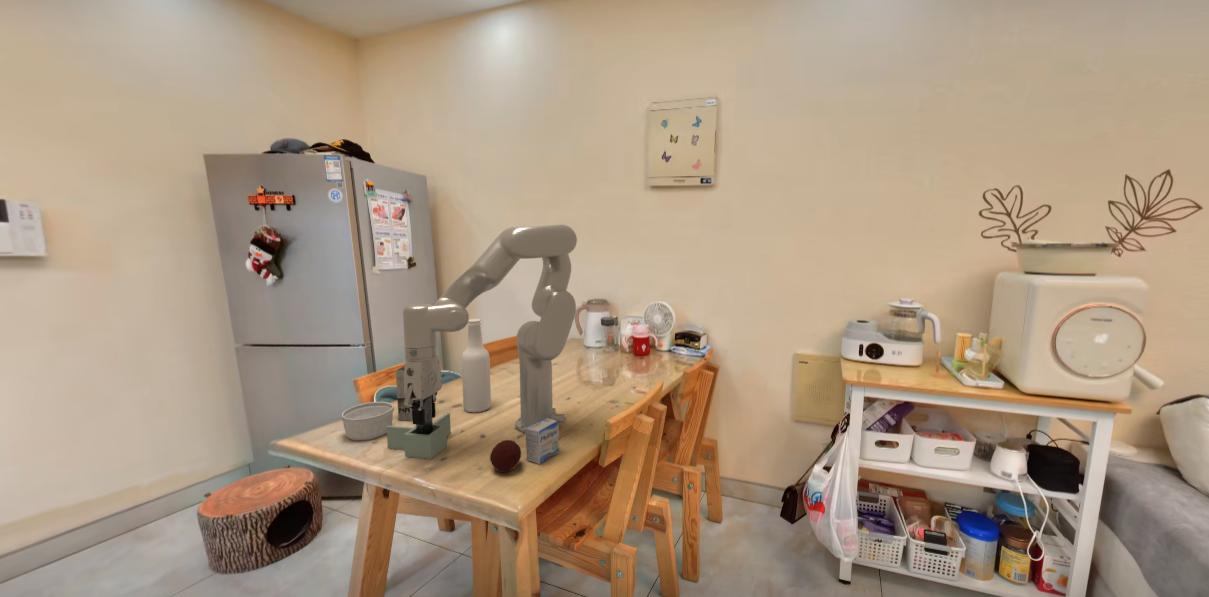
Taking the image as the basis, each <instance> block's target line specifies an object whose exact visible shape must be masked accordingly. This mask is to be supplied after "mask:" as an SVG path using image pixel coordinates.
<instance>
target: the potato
mask: <svg viewBox="0 0 1209 597" xmlns="http://www.w3.org/2000/svg"><path fill="white" fill-rule="evenodd" d="M521 457H522V450H521V447H520V445H519V444H518V443H517V442H516V441H514V440H512V439H506V440H502V441H500V442H498V443H496V445H495V446H494V447H493V448H492V449H491V452H490V455H489V460H490V463H491V465H492V466H493V468H495V469H496V470H497V471H498V472H501V473H506V472H509V471H511V470H513V469H514V468H515V467H516V466H517V465H518V464H519V461H520V460H521Z"/></svg>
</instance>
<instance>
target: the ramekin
mask: <svg viewBox="0 0 1209 597" xmlns="http://www.w3.org/2000/svg"><path fill="white" fill-rule="evenodd" d="M394 410H395V409H394V404H393V403H391V402H387V401H371V402H365V403H360V404H357V405H353V406H351V407H349V408H347V409H345V410H343V412H342V413H341V418H340V419H341V421H342V422H343V423H342V424H343V428H344V432H345V435H346V437H347V438H349V439H350V440H353V441H358V440H361V441H368V440H369V441H370V440H373V439H377V438H380V437H382V436H384V435H387V428H386V427H387V426H388V425H389V426H393V416H394Z"/></svg>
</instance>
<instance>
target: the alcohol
mask: <svg viewBox="0 0 1209 597" xmlns="http://www.w3.org/2000/svg"><path fill="white" fill-rule="evenodd" d="M481 321H482V320H481V319H480V318H469V321H468V323H467V326H468V327H467V328H468V329H467V331H468V332H467V346H466V348H465V350H464V351H463V353H462V355H461V374H462V375H461V377H462V382H461V383H462V398H463V400H462V402H463V403H462V404H463V409H464V410H465V412H467V413H470V412H473V414H477V413H476V412H479V413H483V412H485V410H486V411H488V410H489V409H490V407H491V406H492V393H491V388H492V387H491V365H490V364H491V363H490V362H491V361H490V353H489V351H488V350H487V349H486V348H485V347H484V344H483V337H482V335H483V334H482V330H481V329H482V327H481V324H482V323H481ZM487 409H488V410H487ZM482 411H483V412H482Z"/></svg>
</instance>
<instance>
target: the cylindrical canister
mask: <svg viewBox="0 0 1209 597" xmlns="http://www.w3.org/2000/svg"><path fill="white" fill-rule="evenodd" d="M415 397H416V396H415ZM415 402H416V403H417V404H418V400H415ZM423 409H424V412H425V424H424V425H415V426H416V434H424V435H429V434H431V433H432V432H433V423H434V422H433V418H432V399H431V396H429V397H427V398H426V399H424V400H423Z"/></svg>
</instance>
